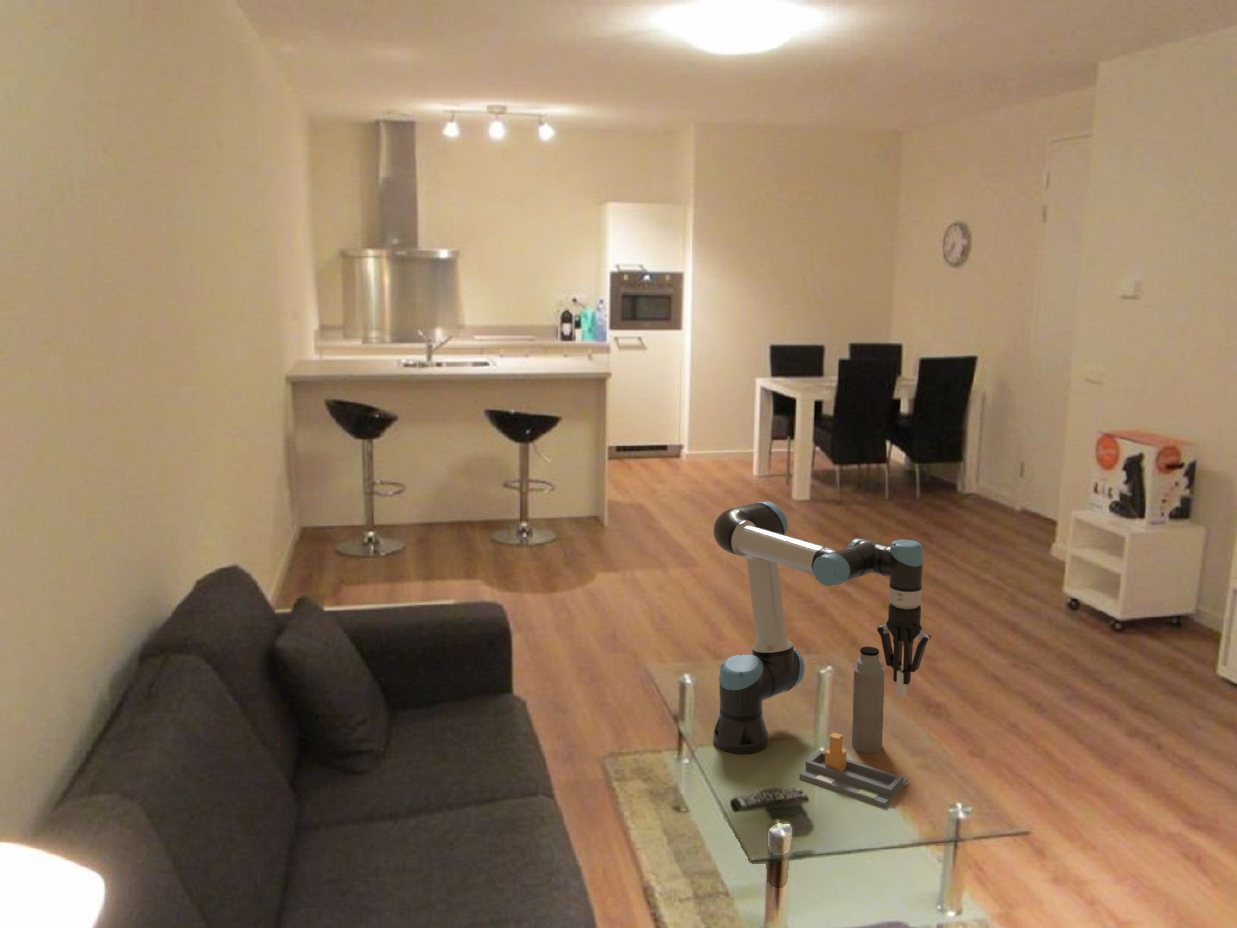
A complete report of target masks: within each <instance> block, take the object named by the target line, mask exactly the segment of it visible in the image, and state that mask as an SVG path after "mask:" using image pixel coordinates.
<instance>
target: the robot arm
mask: <svg viewBox="0 0 1237 928" xmlns="http://www.w3.org/2000/svg"><path fill="white" fill-rule="evenodd" d="M788 524H789V523H788V520H787V517H786V515H785V513H784V511H783V510H782V509H781V508H779V506H778V505H777V504H775V503H774V502H772V501H758V502H753V503H750V504H746V505H741V506H736V507H731V508H730V509H727V510H725V511H723V512H722V513H721V514H719V516H717V518H716V520H715V522H714V525H713V536H714V539H715V542H716V543H717V544H718V546H719V547H720V548H721V549H722V550H724V551H726V552H728V553H730V554H733V555H736V556H739V557H744V558H745V559H746V565H747V574H748V582H749V583H748V584H749V592H750V599H751V606H752V615H753V623H754V630H755V631H754V632H755V639H756V641H755V642H754V644H753V645H752V647H751V652H752V654H747V653H745V654H744V653H743V654H735V655H732V656H730V657H728V658H726V659H725V660H724V661H723V662H722V663H721V664H720V667H719V677H718V681H719V715H718V718H717V721H716V724H715V726H714V730H713V743H714V745H715V746H716V747H718V748H719V749H721V750H723V751H725V752H729V753H732V754H739V755H740V754H742V755H744V754H748V755H749V754H753V753H754V754H755V753H758V752H761V751H763V750H765V748H766V747H767V746H768V745H769V732H768V729H767V726H766V723H765V720H764V717H763V701H765V700H767V699H770V698H773V697H775V696H777V695H780V694H782V693H786V692H789V691H791V689H793V688H795V687H797V686H798V685H799V684H800V683H801V682H802V680H803V678H804V674H805V662H804V658H803V656H802V655H800V651H798V649H797V648H795V647H794V643H793V642H792V641H791V640H790V639H788V637H787V627H786V621H785V620H786V619H785V612H784V603H783V602H784V601H783V594H782V586H781V578H780V569H779V568H780V567H779V565H780V566H784V567H787V568H790V569H793V570H797V571H799V572H803V573H806V574H808V575H812V576H814V578H815V579H816V580H817V581H818V582H819V583H820V585H823V586H826V587H831V586H839V585H841V584H843V583H846V582H849V581H851V580H854V579H858V578H861V577H863V576H867V575H869V574H877V575H879V576H884V577H888V578H889V589H888V590H889V591H888V602H889V604H888V609H887V610H888V611H887V612H888V613H887V614H888V615H887V616H888V619H887V621H886V624H881V625H880V626H878V627H877V628H876V630H877V632H878V634H879V636H880V639H881V644H882V649H883V650H882V651H883V654H884V659H885V664H886V666H887V667H891V668H892V669H893V673H892V674H893V676H892V677H893V680H892V681H893V682H895V683H896V686H895V687H896V688H895V689H896V690H895V691H896V694H895V695H896V697H899V698H904V697H905V696H906V695H907V691H908V690H907V687H908V686H907V685H909V684H911V679H912V678H911V675H912V673H915V672H916V671H917V670H918V669H920V666H921V663H922V659H923V656H924V654H925V653H924V652H925V649H926V646H927V644H928V642H929V641H930V640H931V639H932V636H931V634H926V633H925V632H924V631H923V629H922V625H921V619H922V618H921V615H922V607H921V605H922V597H923V596H922V594H923V593H922V587H923V583H922V582H923V568H924V547H923V545H922V544H921V543H920V542H918V541H916V540H912V539H903V538H902V539H896V540H893V541H892V542H891V543H890V545H888V544H885V543H881V542H877V541H873V540H872V539H871V540H870V539H867V538H865V539H864V538H854V539H853V540H851V542H850V543H848V545H847V546H846V548H843V549H835V548H831V547H827V546H824V545H820V544H817V543H813V542H809V541H806V540H802V539H799V538H796V537H793V536H788V535H786V534H788V528H789V525H788ZM890 634H891V635H892V638H893V639H892V640H893V641H891V635H890ZM917 637H918V644H917V646H916V650H915V653H914V655H913V649H914V648H913V647H914V642H915V641H914V640H915V639H916V638H917ZM892 643H893V645H892ZM902 663H903V664H902Z"/></svg>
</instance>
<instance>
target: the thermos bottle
mask: <svg viewBox="0 0 1237 928" xmlns="http://www.w3.org/2000/svg"><path fill="white" fill-rule="evenodd" d="M859 652H860V657H858V658H857V660H856V664H855V666H854V667H853V690H852V691H853V693H852V694H853V695H852V697H853V698H852V728H851V747H852V748H854V750H856V751H858V752H861V753H865V754H866V753H867V754H873V753H878V752H879V751H881V750H882V748H883V732H884V731H883V728H884V697H885V694H884V693H885V674H886V673H885V672H886V670H885V668H883V666H884V664H883V661H882V660H881V659H880V650H879V648H877V647H874V646H863V647H861V648H860V651H859Z"/></svg>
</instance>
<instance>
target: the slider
mask: <svg viewBox="0 0 1237 928" xmlns="http://www.w3.org/2000/svg"><path fill="white" fill-rule="evenodd" d="M843 737H844V736H843V734H840V733H836V732H833V733H832V734H830V735H829V748H828V749H827V750H826V751H824V752H825V766H828V767H831V768H834V769H837V770H840V771H844V770H845V769H846V759H847V752H848V751H847V750H846V749H843Z"/></svg>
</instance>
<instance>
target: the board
mask: <svg viewBox="0 0 1237 928" xmlns="http://www.w3.org/2000/svg"><path fill="white" fill-rule="evenodd" d="M825 752H826V751H823V750H820V749H819V750H818V751H816V752H815V753H814V754H813V755H811V757H809V759H807V760H806V761H805V768H804V770H802V771H801V772H799V779H801V780H803V781H805V782H810V783H813V784H814V785H815V784H816V785H818V786H821V787H824V788H827V789H830V790H833V791H835V792H838V793H841V794H844V795H846V796H850V797H853V798H855V799H859V800H860V801H864V802H867V803H870V804H871V805H872V804H873V805H876V806H879V807H881V808H887V806H888V805H889V804H890V803H891V802H892V801H893V800H894V799H895V798H896V797H897V795H899V793H900V792H901V791H903V789H904V788H905V787H906V786H905V784H906V783H907V782H908V783H909V779H908V778H907V777H904V776H902V775H898V774H895V773H892V772H889V771H886V770H882V769H879V768H876V767H873V766H870V765H868V764H865V763H864V764H863V763H860V762H858V761H854V760H851V759H848V758H846V769H845V770H844V771H840V770H837V769H834V768H831V767H828V766H825ZM904 786H905V787H904ZM903 787H904V788H903ZM900 790H901V791H900ZM899 791H900V792H899Z"/></svg>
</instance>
